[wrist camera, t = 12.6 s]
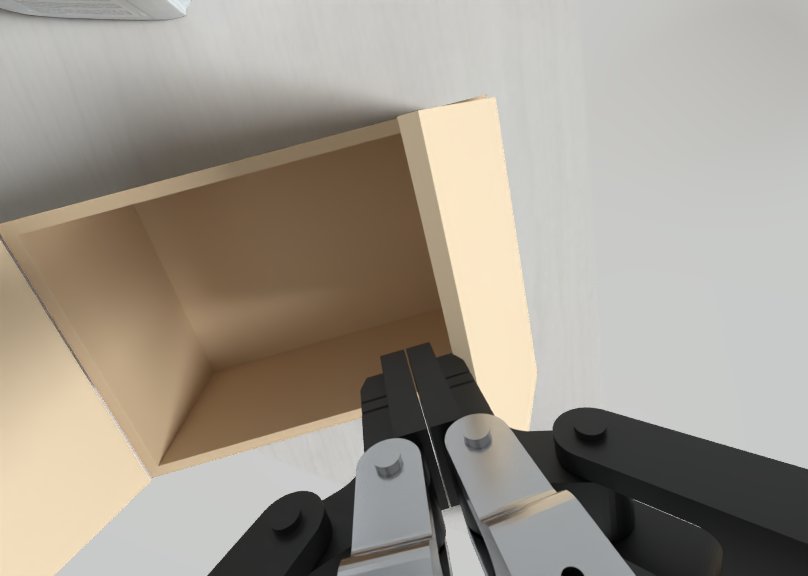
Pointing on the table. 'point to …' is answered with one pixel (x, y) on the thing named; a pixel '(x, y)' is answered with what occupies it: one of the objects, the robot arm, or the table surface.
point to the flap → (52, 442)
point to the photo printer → (100, 8)
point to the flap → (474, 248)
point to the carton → (241, 293)
